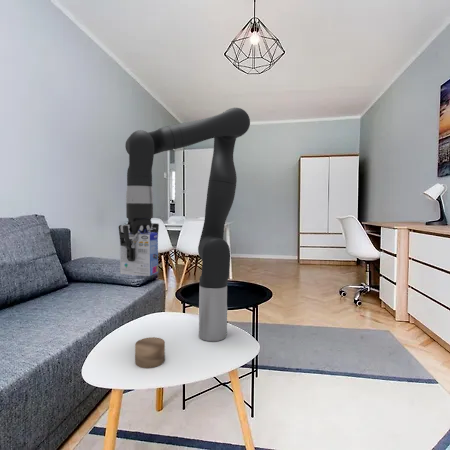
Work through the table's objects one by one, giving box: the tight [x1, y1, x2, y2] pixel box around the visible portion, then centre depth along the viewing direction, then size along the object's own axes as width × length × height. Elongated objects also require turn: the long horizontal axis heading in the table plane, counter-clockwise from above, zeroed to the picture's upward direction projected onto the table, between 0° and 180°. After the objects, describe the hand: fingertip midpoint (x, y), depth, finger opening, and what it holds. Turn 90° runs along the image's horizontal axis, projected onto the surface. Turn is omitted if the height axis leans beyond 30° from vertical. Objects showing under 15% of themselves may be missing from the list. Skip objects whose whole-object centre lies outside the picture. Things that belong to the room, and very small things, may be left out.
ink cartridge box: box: [119, 229, 159, 277], centre depth 92 cm, size 10×6×14 cm, turn 76°
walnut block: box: [134, 336, 166, 369], centre depth 87 cm, size 8×8×5 cm
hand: (140, 259), depth 92 cm, fingers closed on ink cartridge box, 6 cm apart
